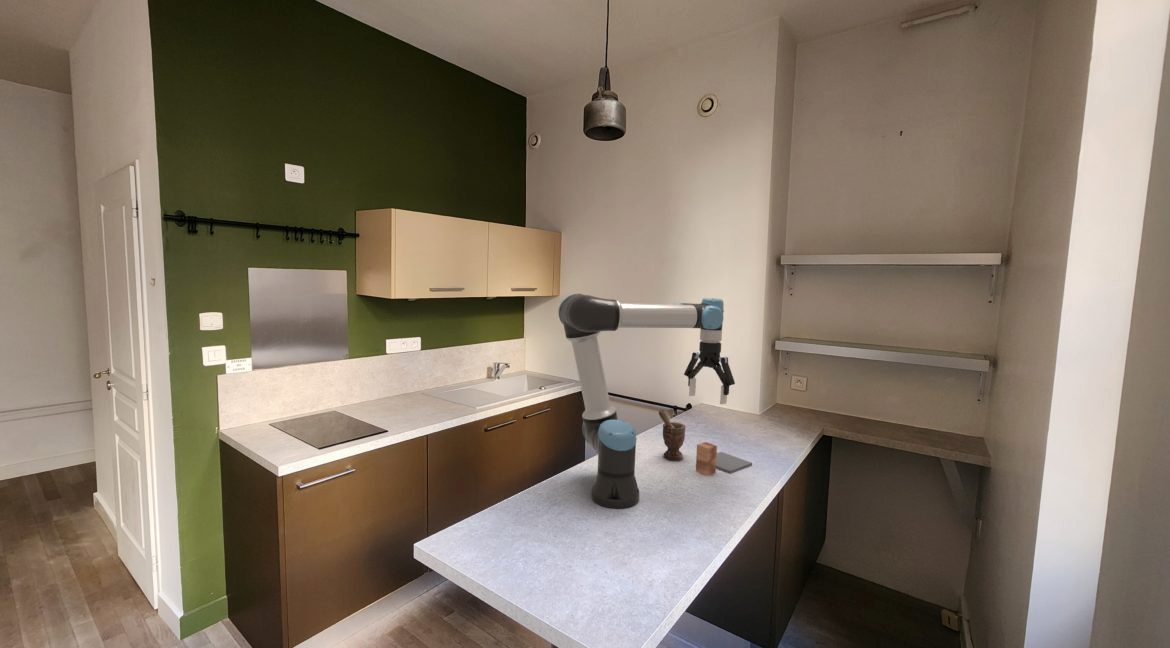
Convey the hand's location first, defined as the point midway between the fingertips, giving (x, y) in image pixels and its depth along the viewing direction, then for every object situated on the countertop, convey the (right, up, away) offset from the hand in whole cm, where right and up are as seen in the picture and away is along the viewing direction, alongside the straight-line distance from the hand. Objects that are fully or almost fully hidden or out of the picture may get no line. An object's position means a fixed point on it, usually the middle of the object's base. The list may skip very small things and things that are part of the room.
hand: (707, 399), depth 170 cm
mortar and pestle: (-11, -25, +13) cm, 30 cm away
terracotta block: (0, -27, +1) cm, 27 cm away
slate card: (+9, -26, +10) cm, 29 cm away
